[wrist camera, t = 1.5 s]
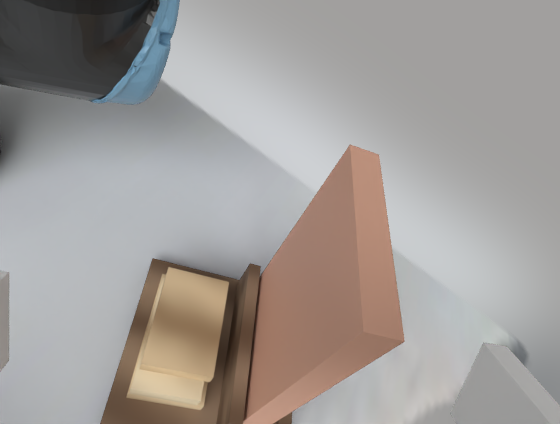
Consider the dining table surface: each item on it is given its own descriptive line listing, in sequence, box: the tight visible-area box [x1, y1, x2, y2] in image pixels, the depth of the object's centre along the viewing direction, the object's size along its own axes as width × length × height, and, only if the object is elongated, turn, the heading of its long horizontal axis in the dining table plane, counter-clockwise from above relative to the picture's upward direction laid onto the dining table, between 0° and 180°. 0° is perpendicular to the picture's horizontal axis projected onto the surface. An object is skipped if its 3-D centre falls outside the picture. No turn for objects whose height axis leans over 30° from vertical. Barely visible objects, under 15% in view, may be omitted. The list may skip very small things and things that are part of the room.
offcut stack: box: [126, 267, 229, 410], centre depth 33 cm, size 10×6×4 cm, turn 176°
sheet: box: [243, 145, 405, 424], centre depth 29 cm, size 12×2×20 cm, turn 176°
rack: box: [100, 259, 292, 424], centre depth 34 cm, size 14×14×6 cm
